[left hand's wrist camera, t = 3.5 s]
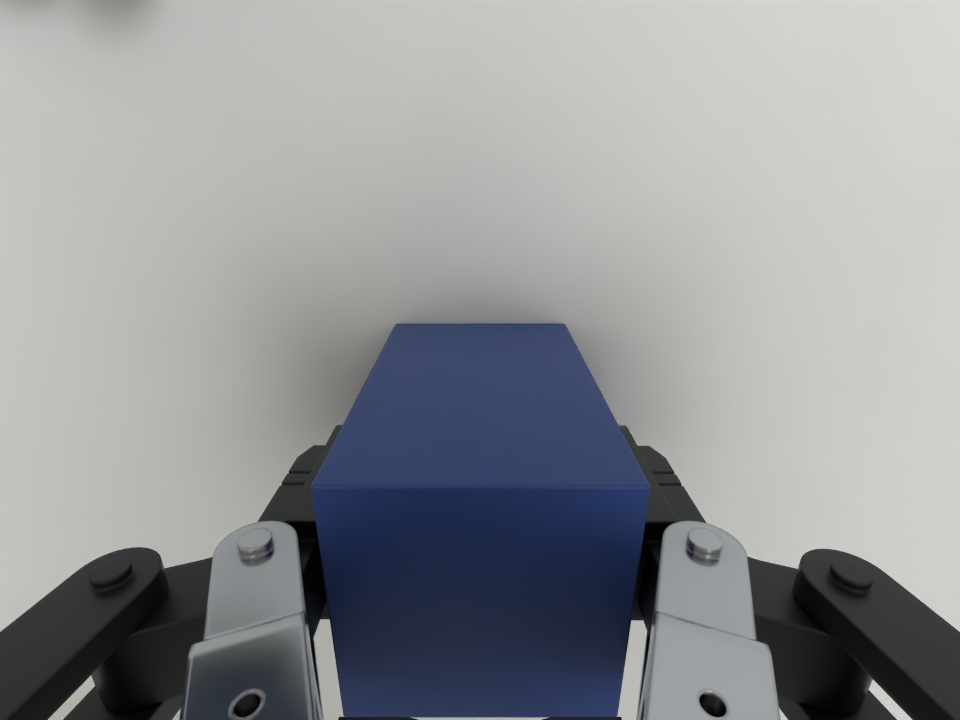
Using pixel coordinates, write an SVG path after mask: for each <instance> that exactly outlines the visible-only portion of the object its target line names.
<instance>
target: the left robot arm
mask: <svg viewBox="0 0 960 720" xmlns="http://www.w3.org/2000/svg"><path fill="white" fill-rule="evenodd" d="M342 426H343V425H337V426H336V427H335V429H334V431H333V433H332V434H331V436H330V438H329V440H328V442H327V444H326V445H314V446H312V447H311V448H310V449H308V450H307V451H306V452H304V453H303V454H301V455H300V456H299V457H297V459H296V461H295V462H294V464H293V466H292V467H291V469H290V470H289V474H287V475H286V477H285V478H284V480H283V482H282V486H280V487H279V488H278V490H277V491H276V493H275V495H274V496H273V498H272V499H271V501H270V503H269V504H268V506H267V508H266V509H265V511H264V512H263V514H262V516H261V517H260V519H259V520H258V522H257V523H253V524H249V525H247V526H244V527H242V528H240V529H238V530H236V531H234V532H232V533H231V534H229V535H228V536H227V537H225V538H224V539H223V540H222V541H221V542H220V543H219V545H218V546H217V547H216V549H215V551H214V554H213V557H211V558H208V559H204V560H200V561H196V562H191V563H187V564H182V565H178V566H173V567H169V568H165V569H164V567H163V563H162V560H161V557H160V555H159V554H158V553H157V552H156V551H154V550H152V549H149V548H141V547H137V548H127V549H122V550H118V551H115V552H112V553H109V554H106V555H104V556H102V557H99V558H97V559H95V560H93V561H92V562H90V563H88V564H87V565H85V566H83V567H82V568H81V569H79V570H78V571H77V572H75V573H74V574H73V575H72V576H70V577H69V578H68V579H67V580H65V581H64V582H63V583H62V584H60V585H59V586H58V587H56V588H55V589H54V590H53V591H51V592H50V593H49V594H48V595H46V596H45V597H44V598H43V599H41V600H40V601H39V602H38V603H36V604H35V605H34V606H33V607H31V608H30V609H29V610H28V611H26V612H25V613H24V614H22V615H21V616H20V617H19V618H17V619H16V620H15V621H14V622H12V623H11V624H10V625H9V626H7V627H6V628H5V629H4V630H2V631H1V632H0V720H48V718H49V717H50V716H51V715H52V714H53V713H54V712H55V711H56V710H57V709H58V708H59V707H60V706H61V705H62V704H63V703H64V702H65V701H66V700H67V699H68V698H69V697H70V696H71V695H72V694H73V693H74V692H75V691H76V690H77V689H78V688H79V687H80V686H81V685H82V684H83V683H84V682H85V681H86V680H87V679H88V678H89V676H90V675H91V676H92V678H93V681H94V683H95V687H94V688H93V689H92V690H91V691H90V692H89V693H88V694H87V695H86V696H85V697H84V698H83V699H82V700H81V701H80V703H79V704H78V705H77V706H76V707H75V708H74V709H73V710H72V711H71V712H70V713H69V714H68V715H67V716H66V717H65V718H64V719H63V720H172V719H173V717H174V716H175V715H176V713H177V712H178V711H179V709H180V708H181V712H180V719H179V720H324V716H323V708H322V699H321V691H320V682H319V674H318V666H317V657H316V649H315V642H314V635H315V632H316V630H317V627H318V624H319V621H320V619H330V617H329V610H328V603H327V596H326V589H325V582H324V575H323V568H322V561H321V554H320V547H319V540H318V533H317V526H316V519H315V512H314V505H313V498H312V491H311V485H312V483H313V481H314V479H315V478H316V476H317V474H318V472H319V470H320V468H321V466H322V464H323V462H324V460H325V458H326V457H327V455H328V453H329V451H330V449H331V447H332V445H333V443H334V441H335V439H336V437H337V435H338V434H339V432H340V430H341V428H342ZM618 426H619V428H620V430H621V432H622V433H623V435H624V437H625V439H626V441H627V443H628V445H629V447H630V449H631V451H632V452H633V454H634V456H635V458H636V460H637V462H638V464H639V466H640V468H641V470H642V471H643V473H644V475H645V477H646V479H647V481H648V483H649V485H650V493H649V500H648V506H647V513H646V520H645V527H644V534H643V541H642V548H641V555H640V562H639V569H638V576H637V583H636V590H635V596H634V603H633V610H632V617H631V620H644V623H645V626H646V629H647V636H646V642H645V649H644V657H643V666H642V674H641V682H640V691H639V699H638V708H637V716H636V720H781V719H780V712H779V708H780V709H781V711H782V712H783V713H784V715H785V716H786V717H787V719H788V720H897V719H896V718H895V717H894V716H893V715H892V714H891V713H890V712H889V711H888V710H887V709H886V708H885V707H884V706H883V705H882V704H881V703H880V701H879V700H878V699H877V698H876V697H875V696H874V695H873V694H872V693H871V692H870V691H869V687H870V685H871V682H872V680H874V681H875V682H876V683H877V684H878V685H879V686H880V687H881V688H882V689H883V690H884V691H885V692H886V693H887V694H888V695H889V696H890V697H891V698H892V699H893V700H894V701H895V702H896V703H897V704H898V705H899V706H900V707H901V708H902V709H903V710H904V711H905V712H906V713H907V714H908V715H909V716H910V717H911V718H912V719H913V720H960V632H959V631H958V630H956V629H955V628H954V627H953V626H951V625H950V624H949V623H948V622H946V621H945V620H944V619H943V618H941V617H940V616H939V615H938V614H936V613H935V612H934V611H932V610H931V609H930V608H929V607H927V606H926V605H925V604H924V603H922V602H921V601H920V600H919V599H917V598H916V597H915V596H914V595H912V594H911V593H910V592H909V591H907V590H906V589H905V588H904V587H902V586H901V585H900V584H898V583H897V582H896V581H895V580H893V579H892V578H891V577H890V576H888V575H887V574H886V573H885V572H883V571H882V570H880V569H879V568H878V567H876V566H874V565H873V564H871V563H869V562H867V561H865V560H863V559H861V558H859V557H857V556H854V555H851V554H848V553H845V552H841V551H837V550H831V549H815V550H811V551H809V552H807V553H805V554H804V555H803V556H802V558H801V560H800V564H799V567H798V569H795V568H791V567H786V566H782V565H777V564H773V563H768V562H764V561H760V560H756V559H753V558H750V557H747V554H746V551H745V549H744V547H743V546H742V545H741V543H740V542H739V541H738V540H737V539H736V538H735V537H733V536H732V535H731V534H729V533H728V532H726V531H724V530H722V529H720V528H718V527H716V526H713V525H711V524H707V523H706V522H705V520H704V519H703V517H702V515H701V514H700V512H699V511H698V509H697V508H696V506H695V504H694V503H693V501H692V500H691V498H690V496H689V495H688V493H687V492H686V490H685V488H684V487H683V486H681V482H680V480H679V479H678V477H677V476H676V475H674V471H673V469H672V468H671V466H670V465H669V463H668V461H667V460H666V458H665V457H663V456H662V455H661V454H659V453H658V452H657V451H655V450H654V449H652V448H651V447H650V446H637V444H636V442H635V441H634V439H633V437H632V435H631V433H630V432H629V430H628V428H627V427H626V426H624V425H618ZM338 720H417V719H414V718H410V717H339V719H338ZM543 720H622V719H621V717H550V718H546V719H543Z"/></svg>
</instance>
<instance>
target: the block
mask: <svg viewBox="0 0 960 720" xmlns="http://www.w3.org/2000/svg"><path fill="white" fill-rule="evenodd" d="M311 491H312V498H313V505H314V512H315V519H316V526H317V533H318V540H319V547H320V554H321V561H322V568H323V575H324V582H325V589H326V596H327V603H328V610H329V617H330V624H331V631H332V638H333V645H334V652H335V659H336V666H337V673H338V680H339V687H340V694H341V701H342V707H343V714H344V717H617V714H618V707H619V700H620V693H621V686H622V680H623V673H624V666H625V659H626V652H627V645H628V638H629V631H630V624H631V617H632V610H633V603H634V596H635V590H636V583H637V576H638V569H639V562H640V555H641V548H642V541H643V534H644V527H645V520H646V513H647V506H648V500H649V493H650V485H649V483H648V481H647V479H646V477H645V475H644V473H643V471H642V470H641V468H640V466H639V464H638V462H637V460H636V458H635V456H634V454H633V452H632V451H631V449H630V447H629V445H628V443H627V441H626V439H625V437H624V435H623V433H622V432H621V430H620V428H619V426H618V424H617V422H616V420H615V418H614V416H613V414H612V413H611V411H610V409H609V407H608V405H607V403H606V401H605V399H604V397H603V395H602V394H601V392H600V390H599V388H598V386H597V384H596V382H595V380H594V378H593V377H592V375H591V373H590V371H589V369H588V367H587V365H586V363H585V361H584V359H583V358H582V356H581V354H580V352H579V350H578V348H577V346H576V344H575V342H574V340H573V339H572V337H571V335H570V333H569V331H568V329H567V327H566V325H565V324H396V325H395V327H394V328H393V330H392V332H391V334H390V336H389V338H388V340H387V342H386V344H385V346H384V348H383V350H382V351H381V353H380V355H379V357H378V359H377V361H376V363H375V365H374V367H373V369H372V371H371V372H370V374H369V376H368V378H367V380H366V382H365V384H364V386H363V388H362V390H361V392H360V393H359V395H358V397H357V399H356V401H355V403H354V405H353V407H352V409H351V411H350V413H349V414H348V416H347V418H346V420H345V422H344V424H343V426H342V428H341V430H340V432H339V434H338V435H337V437H336V439H335V441H334V443H333V445H332V447H331V449H330V451H329V453H328V455H327V457H326V458H325V460H324V462H323V464H322V466H321V468H320V470H319V472H318V474H317V476H316V478H315V479H314V481H313V483H312V485H311Z"/></svg>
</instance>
